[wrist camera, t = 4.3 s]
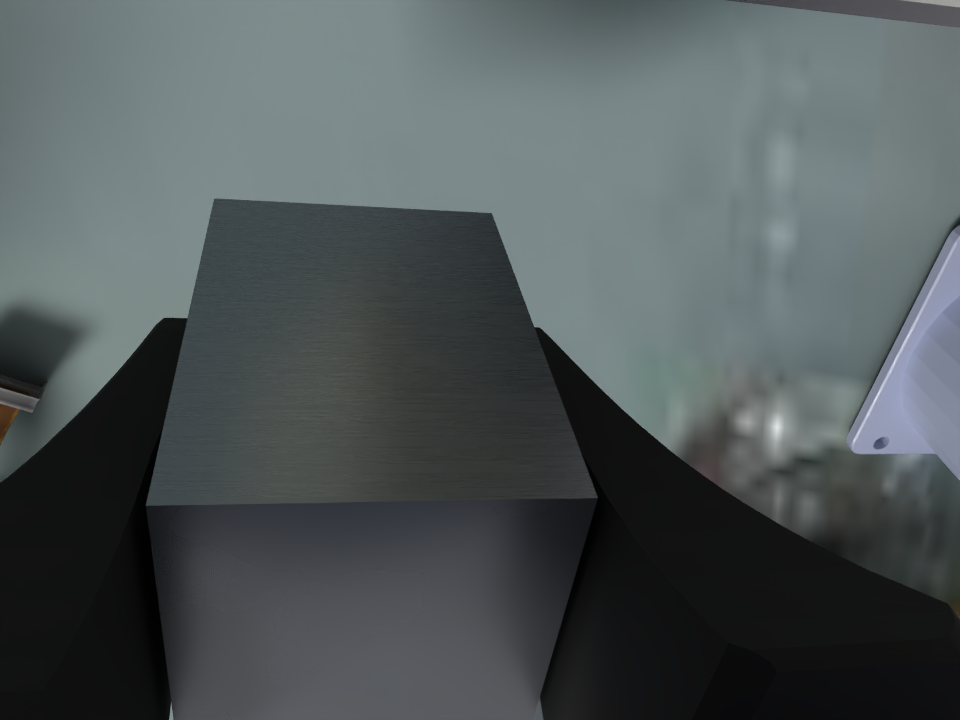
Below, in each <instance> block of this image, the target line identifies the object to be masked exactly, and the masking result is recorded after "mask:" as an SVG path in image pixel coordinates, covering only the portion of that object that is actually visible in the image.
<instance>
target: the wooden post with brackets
mask: <svg viewBox="0 0 960 720" xmlns="http://www.w3.org/2000/svg"><path fill="white" fill-rule="evenodd" d="M46 384H47V382H46V383H45V384H44V385H43V387H39V386H35V385H32V384H29V383H26V382H22V381H19V380H16V379H13V378H9V377H6V376H3V375H0V444H1V442H2V440H3V438H4V436H5V434H6V432H7V430H8V428H9V427H10V425H11V423H12V422H13V420H14V418H15V417H16V415H17V413H18V412H19V410H20V409H21V410H25V411H28V412H31V413H33V411H34V408H35V406H36V404H37V401H39V400H40V399H41V396H42V394H43V391H44V389H45V387H46Z"/></svg>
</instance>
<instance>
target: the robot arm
mask: <svg viewBox="0 0 960 720" xmlns="http://www.w3.org/2000/svg"><path fill="white" fill-rule="evenodd" d="M187 319H188V318H164V319H162V320H161V321H160V322H159V323H158V324H156V326H155V327H154V328H153V329H152V331H151V332H150V333H149V334H148V336H147V337H146V338H145V339H144V341H143V342H142V343H141V344H140V346H139V347H138V348H137V349H136V351H135V352H134V353H133V354H132V355H131V357H130V358H129V359H128V360H127V361H126V362H125V364H124V365H123V366H122V367H121V368H120V369H119V370H118V372H117V373H116V374H115V375H114V376H113V377H112V378H111V379H110V380H109V382H108V383H107V384H106V385H105V386H104V387H103V388H102V389H101V390H100V391H99V392H98V393H97V395H96V396H95V397H94V398H93V399H92V400H91V401H90V402H89V403H88V404H87V405H86V406H85V407H84V408H83V409H82V410H81V411H80V412H79V413H78V414H77V415H76V416H75V417H74V418H73V419H72V420H71V421H70V422H69V423H68V424H67V425H66V426H65V427H64V428H63V429H62V430H61V431H60V432H58V433H57V434H56V435H55V436H54V437H53V438H52V439H51V440H50V441H49V442H48V443H47V444H46V445H45V446H44V447H43V448H42V449H40V450H39V451H38V452H37V453H36V454H35V455H34V456H32V457H31V458H30V459H29V460H28V461H27V462H26V463H24V464H23V465H22V466H21V467H20V468H18V469H17V470H16V471H15V472H14V473H12V474H11V475H10V476H9V477H7V478H6V479H5V480H4V481H2V482H1V483H0V720H169V715H170V707H171V695H170V687H169V679H168V672H167V664H166V656H165V649H164V641H163V633H162V626H161V618H160V610H159V603H158V595H157V587H156V580H155V572H154V565H153V557H152V549H151V542H150V534H149V526H148V519H147V511H146V503H147V498H148V494H149V489H150V485H151V480H152V476H153V471H154V467H155V462H156V458H157V453H158V449H159V444H160V440H161V435H162V431H163V426H164V422H165V417H166V413H167V408H168V404H169V399H170V395H171V390H172V386H173V382H174V377H175V373H176V368H177V364H178V359H179V355H180V350H181V346H182V341H183V337H184V332H185V328H186V323H187ZM534 328H535V331H536V333H537V336H538V339H539V341H540V344H541V347H542V349H543V352H544V355H545V357H546V360H547V363H548V365H549V368H550V371H551V374H552V376H553V379H554V382H555V384H556V387H557V390H558V392H559V395H560V398H561V400H562V403H563V406H564V408H565V411H566V414H567V416H568V419H569V422H570V424H571V427H572V430H573V433H574V435H575V438H576V441H577V443H578V446H579V449H580V451H581V454H582V457H583V459H584V462H585V465H586V467H587V470H588V473H589V475H590V478H591V481H592V484H593V486H594V489H595V492H596V494H597V497H598V500H597V503H596V506H595V510H594V513H593V517H592V520H591V523H590V527H589V530H588V534H587V537H586V541H585V544H584V547H583V551H582V554H581V558H580V561H579V564H578V568H577V571H576V575H575V578H574V582H573V585H572V588H571V592H570V595H569V599H568V602H567V605H566V609H565V612H564V616H563V619H562V623H561V626H560V629H559V633H558V636H557V640H556V643H555V646H554V650H553V653H552V657H551V660H550V663H549V667H548V670H547V674H546V677H545V681H544V684H543V687H542V691H541V694H540V702H541V708H542V715H543V720H960V619H959V618H958V617H957V615H956V614H955V613H954V611H953V610H952V609H951V608H950V606H949V605H948V604H947V603H945V602H942V601H940V600H938V599H935V598H933V597H931V596H928V595H926V594H923V593H921V592H919V591H916V590H914V589H912V588H909V587H907V586H905V585H902V584H900V583H897V582H895V581H893V580H890V579H888V578H886V577H883V576H881V575H878V574H876V573H874V572H871V571H869V570H867V569H865V568H863V567H860V566H858V565H856V564H854V563H852V562H850V561H848V560H846V559H844V558H842V557H840V556H838V555H836V554H834V553H832V552H830V551H828V550H826V549H824V548H822V547H820V546H818V545H816V544H814V543H812V542H810V541H808V540H807V539H805V538H803V537H801V536H799V535H797V534H796V533H794V532H792V531H790V530H788V529H786V528H785V527H783V526H781V525H779V524H778V523H776V522H775V521H773V520H771V519H770V518H768V517H766V516H765V515H763V514H761V513H760V512H758V511H756V510H755V509H753V508H751V507H750V506H748V505H746V504H745V503H743V502H741V501H740V500H738V499H737V498H735V497H734V496H732V495H731V494H729V493H728V492H726V491H725V490H723V489H722V488H720V487H719V486H717V485H716V484H714V483H713V482H712V481H710V480H709V479H707V478H706V477H705V476H703V475H702V474H701V473H699V472H698V471H696V470H695V469H694V468H692V467H691V466H689V465H688V464H687V463H685V462H684V461H683V460H681V459H680V458H679V457H677V456H676V455H675V454H674V453H672V452H671V451H670V450H669V449H667V448H666V447H665V446H664V445H663V444H661V443H660V442H659V441H658V440H657V439H655V438H654V437H653V436H652V435H651V434H650V433H648V432H647V431H646V430H645V429H644V428H642V427H641V426H640V425H639V424H638V423H637V422H636V421H634V420H633V419H632V418H631V417H630V416H629V415H628V414H627V413H626V412H624V411H623V410H622V409H621V408H620V407H619V406H618V405H617V404H616V403H615V402H614V401H613V400H612V399H611V398H610V397H609V396H608V395H606V394H605V393H604V392H603V391H602V390H601V389H600V388H599V387H598V386H597V385H596V384H595V383H594V382H593V381H592V380H591V379H590V378H589V377H588V376H587V375H586V374H585V373H584V372H583V371H582V370H581V369H580V368H579V367H578V366H577V365H576V364H575V363H574V362H573V361H572V360H571V359H570V357H569V356H568V355H567V354H566V353H565V352H564V351H563V350H562V349H561V348H560V347H559V346H558V345H557V344H556V343H555V342H554V341H553V340H552V339H551V338H550V337H549V336H548V335H547V334H546V333H545V332H544V331H543V330H542V329H541V328H538V327H534ZM846 441H847V445H848V446H849V447H850V448H851V450H852V451H853V452H854V453H857V454H937V456H938V457H939V458H940V459H941V460H942V461H943V462H944V464H945V465H946V466H947V467H948V468H949V469H950V470H951V472H952V473H953V474H954V475H955V476H956V477H957V478H958V479H959V481H960V225H959V226H957V227H956V228H955V229H954V230H953V231H952V232H951V234H950V235H949V236H948V238H947V240H946V242H945V244H944V246H943V248H942V250H941V252H940V254H939V256H938V258H937V260H936V262H935V264H934V266H933V268H932V270H931V272H930V274H929V276H928V278H927V280H926V282H925V284H924V286H923V288H922V290H921V292H920V294H919V296H918V298H917V300H916V302H915V303H914V305H913V307H912V309H911V311H910V313H909V315H908V317H907V319H906V321H905V323H904V325H903V327H902V329H901V331H900V333H899V335H898V337H897V339H896V341H895V343H894V345H893V347H892V349H891V351H890V353H889V355H888V357H887V359H886V361H885V363H884V365H883V367H882V369H881V371H880V373H879V375H878V377H877V379H876V381H875V383H874V385H873V387H872V389H871V391H870V392H869V394H868V396H867V398H866V400H865V402H864V404H863V406H862V408H861V410H860V412H859V414H858V416H857V418H856V420H855V422H854V424H853V426H852V428H851V430H850V432H849V434H848V436H847V440H846Z"/></svg>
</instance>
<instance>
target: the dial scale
mask: <svg viewBox="0 0 960 720" xmlns="http://www.w3.org/2000/svg"><path fill="white" fill-rule="evenodd" d="M729 1H738V2H746V3H755V4H764V5H772V6H781V7H789V8H798V9H806V10H815V11H823V12H832V13H840V14H849V15H857V16H866V17H874V18H883V19H891V20H900V21H908V22H917V23H926V24H934V25H943V26H951V27H960V0H729Z"/></svg>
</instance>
